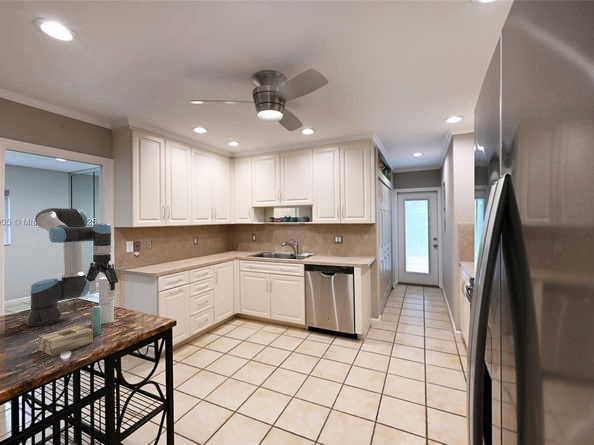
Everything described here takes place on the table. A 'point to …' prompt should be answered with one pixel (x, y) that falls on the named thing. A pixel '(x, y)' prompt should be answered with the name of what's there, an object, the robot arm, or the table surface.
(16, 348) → the table surface
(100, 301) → the cylindrical container
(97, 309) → the pin
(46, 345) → the block
